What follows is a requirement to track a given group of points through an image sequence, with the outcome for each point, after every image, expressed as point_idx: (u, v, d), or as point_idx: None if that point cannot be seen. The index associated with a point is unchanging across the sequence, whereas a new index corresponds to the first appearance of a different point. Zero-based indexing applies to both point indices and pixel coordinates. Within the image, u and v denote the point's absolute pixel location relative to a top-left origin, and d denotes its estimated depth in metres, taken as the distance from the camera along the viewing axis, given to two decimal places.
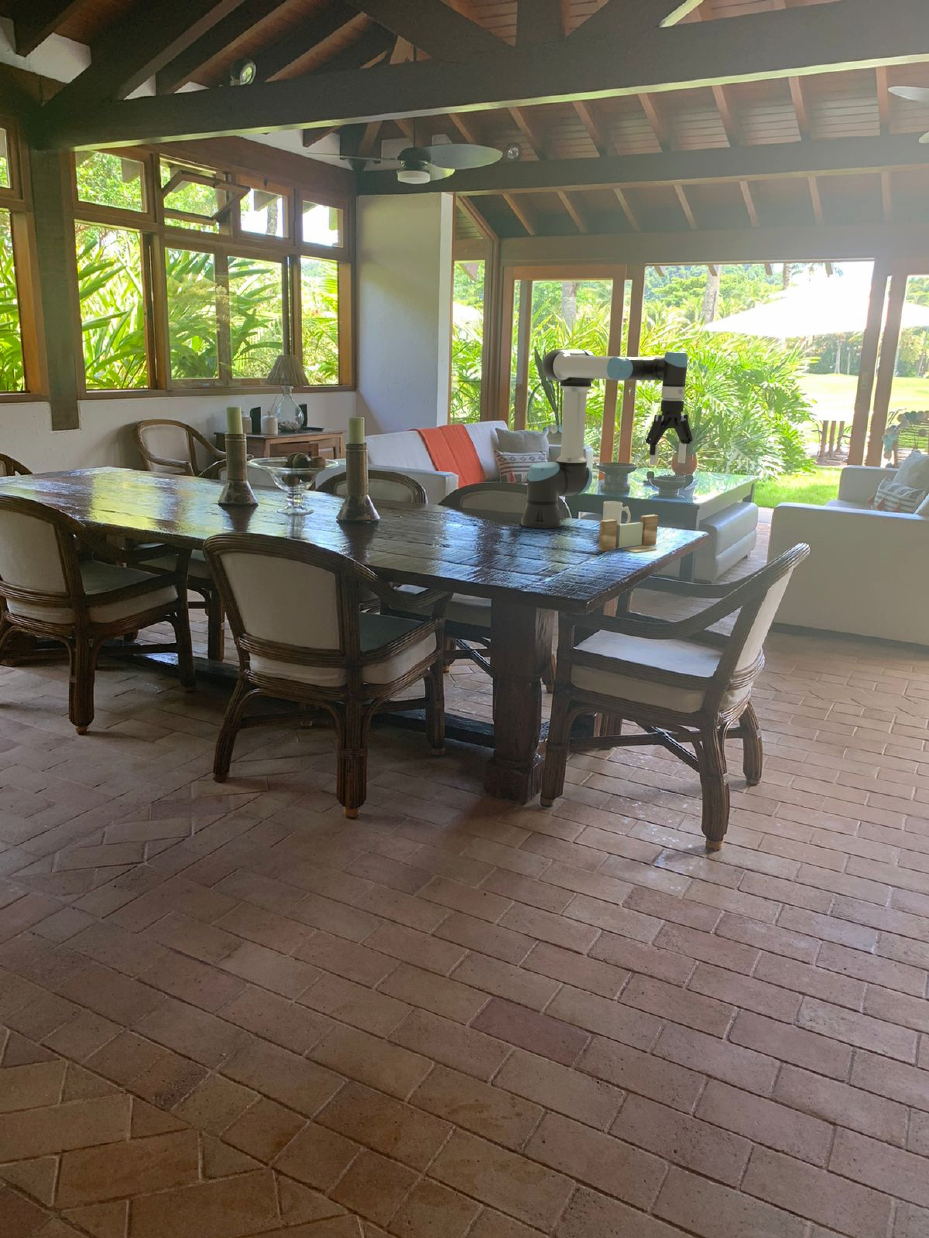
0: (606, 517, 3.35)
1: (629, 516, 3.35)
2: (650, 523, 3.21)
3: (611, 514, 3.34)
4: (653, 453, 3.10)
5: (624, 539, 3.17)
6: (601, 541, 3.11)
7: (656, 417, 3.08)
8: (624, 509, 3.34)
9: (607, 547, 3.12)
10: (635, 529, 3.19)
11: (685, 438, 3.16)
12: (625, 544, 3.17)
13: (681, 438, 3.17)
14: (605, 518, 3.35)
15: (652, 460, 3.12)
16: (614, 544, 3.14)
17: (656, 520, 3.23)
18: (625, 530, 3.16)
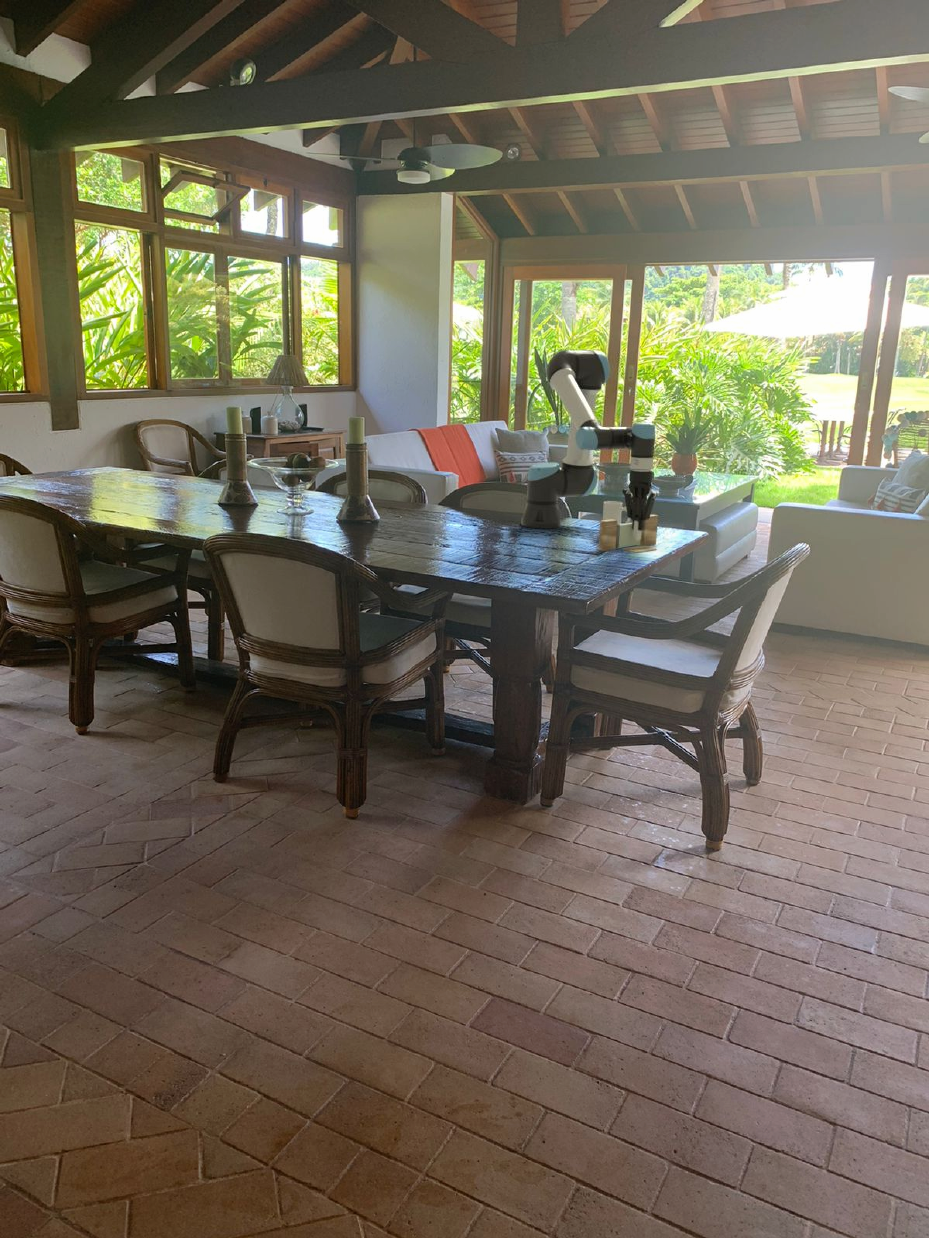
0: (606, 517, 3.35)
1: None
2: (650, 523, 3.21)
3: (611, 514, 3.34)
4: (633, 527, 3.16)
5: (624, 539, 3.17)
6: (601, 541, 3.11)
7: None
8: (624, 509, 3.34)
9: (607, 547, 3.12)
10: None
11: (639, 514, 3.13)
12: (624, 544, 3.18)
13: None
14: (605, 518, 3.35)
15: None
16: (614, 544, 3.14)
17: (656, 520, 3.23)
18: (625, 530, 3.16)
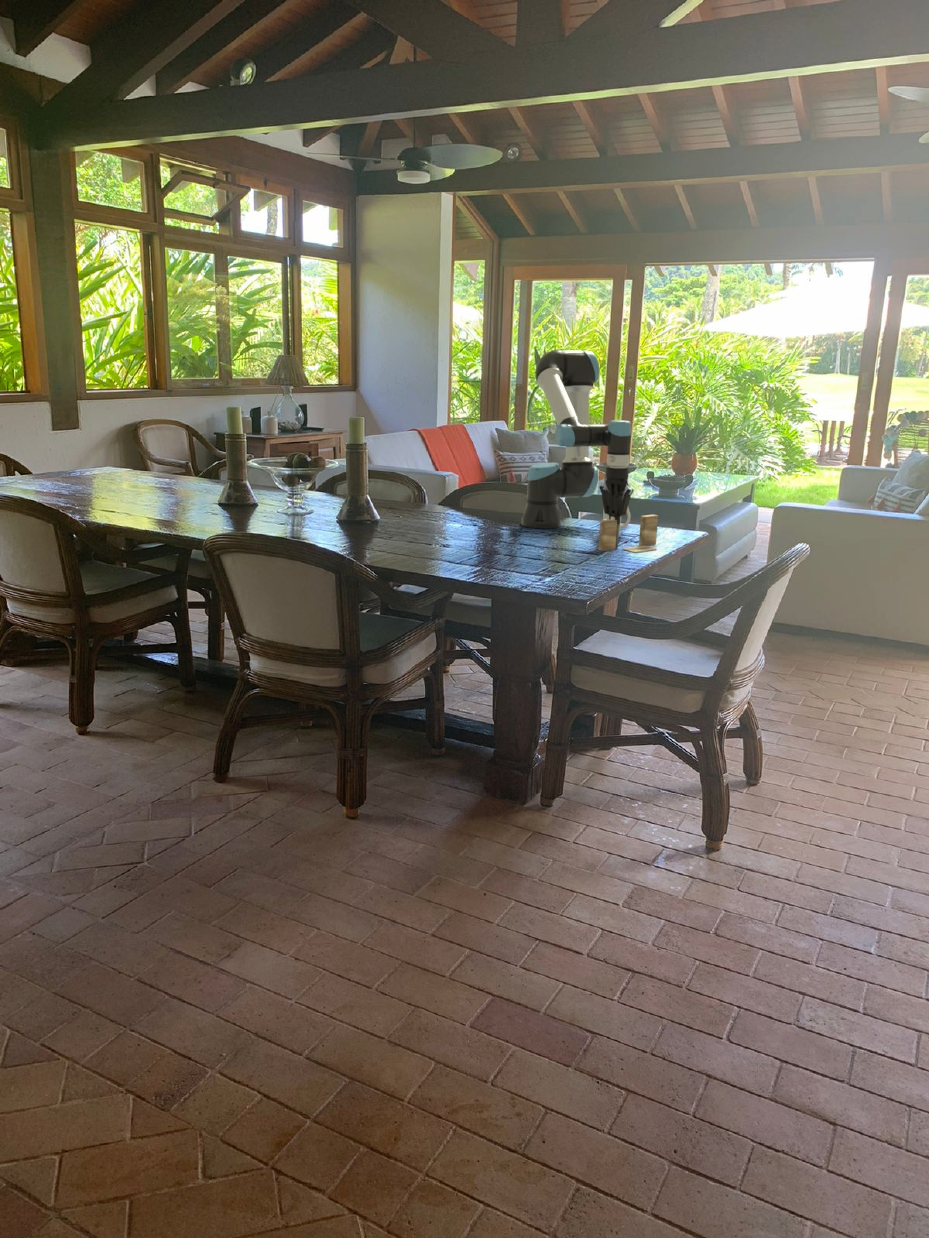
0: (606, 517, 3.35)
1: (629, 516, 3.35)
2: (650, 523, 3.21)
3: None
4: None
5: None
6: (601, 541, 3.11)
7: None
8: None
9: (607, 547, 3.12)
10: None
11: (615, 510, 3.19)
12: None
13: None
14: (605, 518, 3.35)
15: None
16: (614, 544, 3.14)
17: (656, 520, 3.23)
18: None
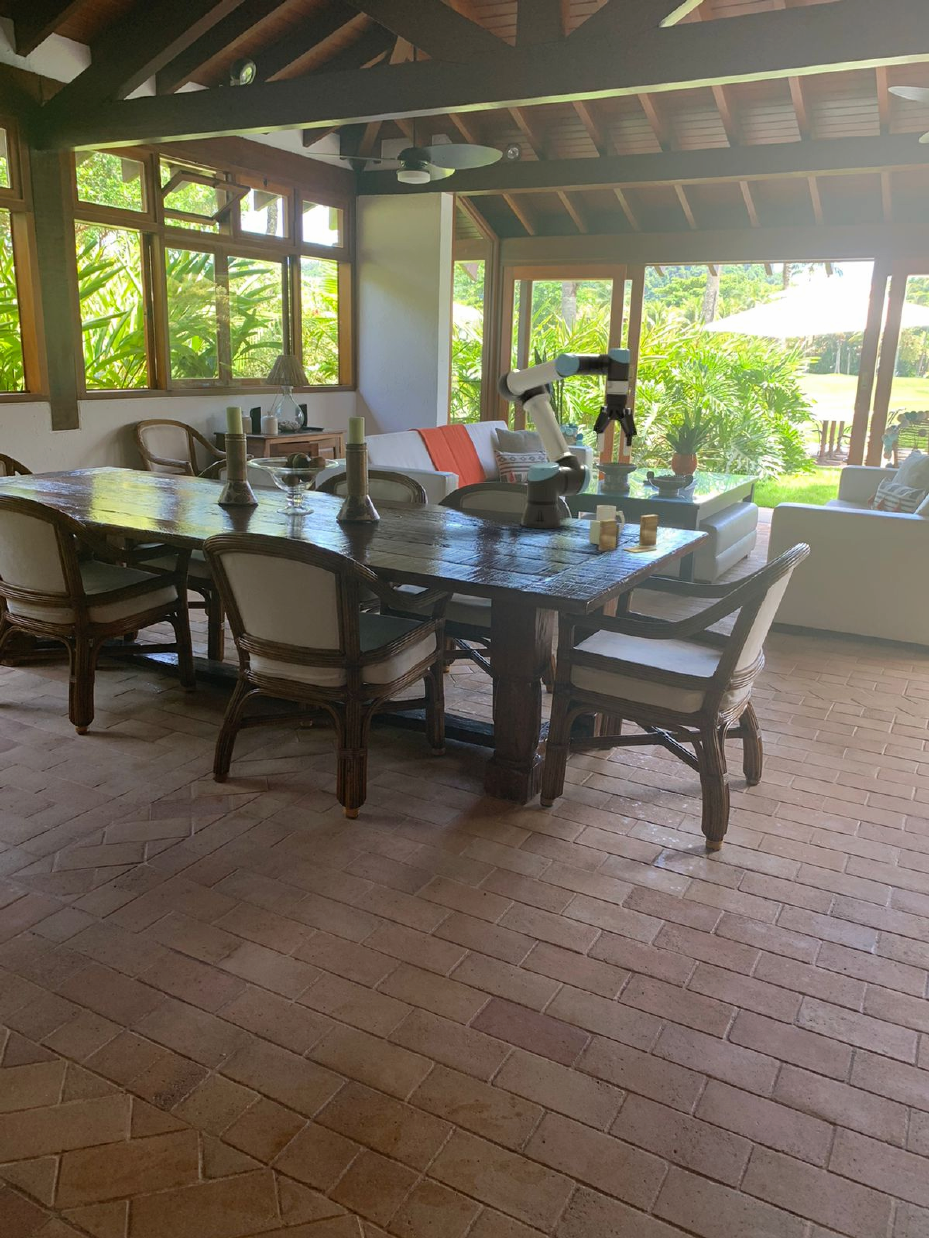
0: None
1: (623, 521, 3.25)
2: (650, 523, 3.21)
3: (604, 518, 3.24)
4: (597, 440, 3.42)
5: None
6: (601, 541, 3.11)
7: None
8: (618, 513, 3.25)
9: (607, 547, 3.12)
10: None
11: (625, 431, 3.29)
12: None
13: None
14: None
15: None
16: (614, 544, 3.14)
17: (656, 520, 3.23)
18: None
